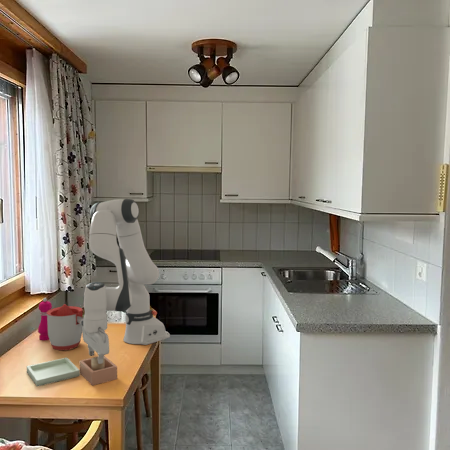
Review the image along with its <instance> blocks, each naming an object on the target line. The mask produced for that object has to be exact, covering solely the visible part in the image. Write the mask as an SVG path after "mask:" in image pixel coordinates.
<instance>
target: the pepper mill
mask: <svg viewBox="0 0 450 450" xmlns="http://www.w3.org/2000/svg"><path fill="white" fill-rule="evenodd" d="M50 309H53V305H52V302H51V301H48V298H47V297H44V298H42V301H41V302H40V303H39V304H38V310H39V315H40V322H39V325H38V329H37V332H38V334H39V338H38V339H39V340H40V341H44V342H45V341H50V340H49V336H48V321H47V311H49V310H50Z"/></svg>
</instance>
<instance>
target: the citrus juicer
mask: <svg viewBox="0 0 450 450" xmlns="http://www.w3.org/2000/svg"><path fill="white" fill-rule="evenodd" d="M83 310H84V309H83V308H82V307H80V306H71V305H69V306H68V305H67V304H65V303H64V304H63V305H62V306H59V307H54V308H53V307H52V308H51V309H50V310H49V311H47V321H48V336H49V340H48V341H49V342H50V346H51V347H52V349H54V350H56V351H70V350H73V349H75V348H77V347H78V346H79V345H80V343H81V340H82V339H81V338H82V337H83V334H82V325H81V320H83V319H84V315H83V313H84V312H83Z"/></svg>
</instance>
